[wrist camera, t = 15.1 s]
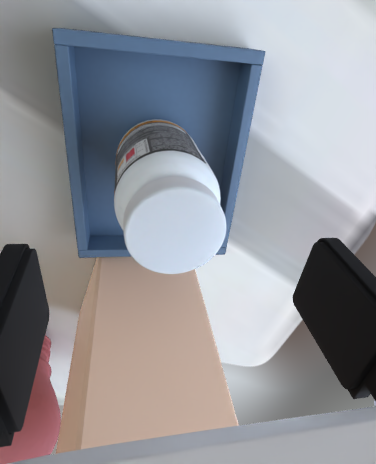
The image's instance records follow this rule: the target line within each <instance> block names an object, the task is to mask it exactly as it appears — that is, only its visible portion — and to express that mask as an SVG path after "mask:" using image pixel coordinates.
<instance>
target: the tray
mask: <svg viewBox="0 0 376 464" xmlns="http://www.w3.org/2000/svg"><path fill="white" fill-rule="evenodd" d="M52 31H53V40H54V44H56V45H54V48H55V56H56V65H57V74H58V82H59V91H60V100H61V109H62V117H63V126H64V135H65V143H66V152H67V161H68V169H69V178H70V187H71V195H72V204H73V213H74V221H75V230H76V239H77V248H78V256H79V258H89V257H132V256H131V255H130V253H129V251H128V249H127V247H126V244H125V240H124V231H123V229H122V228H121V226H120V224H119V222H118V220H117V217H116V213H115V207H114V189H115V161H116V153H117V149H118V146H119V143H120V141H121V139H122V138H123V136H124V135H125V134H126V133H127V132H128V131H129V130H130V129H131V128H132V127H134V126H135V125H137V124H139V123H141V122H144V121H147V120H154V119H161V120H166V121H170V122H172V123H175V124H177V125H178V126H180V127H181V128H183V129H184V130H185V131H186V132H187V133H188V134H189V135H190V137H191V138H192V139H193V141H194V142H195V144H196V145H197V147H198V149H199V151H200V152H201V154H202V155H203V157H204V158H205V160H206V161H207V163H208V165H209V167H210V168H211V169H212V171H213V173H214V175H215V177H216V179H217V181H218V184H219V188H220V197H221V199H220V206H221V208H222V210H223V212H224V215H225V218H226V235H225V238H224V241H223V243H222V246H221V247H220V249H219V250H218V252H217V253H216V254H215V255H222V254H225V252H226V247H227V242H228V237H229V232H230V227H231V222H232V217H233V212H234V207H235V202H236V197H237V192H238V186H239V181H240V176H241V171H242V166H243V161H244V156H245V151H246V146H247V141H248V136H249V131H250V126H251V121H252V115H253V110H254V105H255V100H256V95H257V90H258V85H259V80H260V75H261V70H262V65H263V61H264V56H265V51H261V50H255V49H248V48H239V47H230V46H221V45H212V44H202V43H193V42H184V41H175V40H166V39H156V38H147V37H138V36H129V35H120V34H111V33H101V32H92V31H83V30H74V29H65V28H53V29H52Z"/></svg>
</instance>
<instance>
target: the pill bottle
mask: <svg viewBox="0 0 376 464" xmlns="http://www.w3.org/2000/svg"><path fill="white" fill-rule="evenodd" d="M220 199H221V197H220V188H219V184H218V181H217V179H216V177H215V175H214V173H213V171H212V169H211V168H210V167H209V165H208V163H207V161H206V160H205V158H204V157H203V155H202V154H201V152H200V151H199V149H198V147H197V145H196V144H195V142H194V141H193V139H192V138H191V137H190V135H189V134H188V133H187V132H186V131H185V130H184V129H183V128H181V127H180V126H178V125H177V124H175V123H172V122H170V121H166V120H161V119H154V120H147V121H144V122H141V123H139V124H137V125H135V126H134V127H132V128H131V129H130V130H129V131H128V132H127V133H126V134H125V135H124V136H123V138H122V139H121V141H120V143H119V146H118V149H117V153H116V161H115V189H114V207H115V213H116V217H117V220H118V222H119V224H120V226H121V228H122V229H123V231H124V240H125V244H126V247H127V249H128V251H129V253H130V255H131V256H132V257H133V258H134V260H135V261H137V262H138V263H139V264H140V265H141V266H143V267H145V268H147V269H149V270H151V271H154V272H158V273H164V274H179V273H184V272H188V271H191V270H194V269H196V268H198V267H200V266H202V265H204V264H205V263H207V262H208V261H209V260H210V259H211V258H212V257H213V256H214V255H215V254H216V253H217V252H218V250H219V249H220V247H221V246H222V243H223V241H224V238H225V235H226V218H225V215H224V212H223V210H222V208H221V206H220Z"/></svg>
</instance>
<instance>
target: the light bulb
mask: <svg viewBox="0 0 376 464" xmlns="http://www.w3.org/2000/svg"><path fill="white" fill-rule="evenodd" d="M50 347H51V341H50V339H49V338H48V337H47V336H45V338H44V342H43V346H42V350H41V354H40V358H39V362H38V367H37V371H36V375H35V379H34V383H33V387H32V391H31V396H30V400H29V404H28V408H27V412H26V416H25V420H24V424H23V427H22V430H21V431H20V432H15V433H14V437H13V441H12V445H11V446H5V447H0V464H8V463H13V462H17V461H22V460H27V459H31V458H36V457H40V456H45V455H50V454H51V453H52V451H53V449H54V446H55V444H56V442H57V439H58V435H59V431H60V424H61V419H60V418H61V417H60V409H59V405H58V402H57V398H56V395H55V392H54V389H53V387H52V385H51V382H50V376H51V367H50V365H49V364H48V362H49V357H50Z"/></svg>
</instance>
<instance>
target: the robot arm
mask: <svg viewBox="0 0 376 464" xmlns="http://www.w3.org/2000/svg"><path fill="white" fill-rule="evenodd" d="M293 303H294V305H295V307H296V309H297V310H298V312H299V314H300V315H301V317H302V319H303V320H304V322H305V324H306V325H307V327H308V329H309V331H310V332H311V334H312V336H313V337H314V339H315V340H316V342H317V344H318V346H319V347H320V349H321V351H322V353H323V354H324V356H325V358H326V359H327V361H328V363H329V364H330V366H331V368H332V369H333V371H334V373H335V375H336V376H337V378H338V380H339V381H340V383H341V385H342V386H343V387H344V388H345V389H348V391H349V392H350V394H351V396H352V397H353V399H357V398H365V397H368V396H369V395H370V394H371V395H372V396H373V398H374V399H375V402H374V407H367V408H360V409H352V410H346V411H338V412H331V413H324V414H316V415H309V416H302V417H296V418H288V419H281V420H274V421H267V422H260V423H253V424H246V425H239V426H232V427H225V428H218V429H212V430H205V431H198V432H191V433H185V434H178V435H171V436H164V437H158V438H151V439H144V440H138V441H131V442H124V443H117V444H111V445H105V446H99V447H93V448H87V449H81V450H75V451H69V452H63V453H57V454H51V455H45V456H40V457H36V458H31V459H27V460H22V461H17V462H13V463H8V464H376V277H375V276H374V275H373V274H372V273H371V272H370V271H369V270H368V269H367V268H366V267H365V266H364V265H363V264H362V263H361V262H360V260H359V259H358V258H357V257H356V256H355V255H354V254H353V253H352V252H351V251H350V250H349V249H348V248H347V247H346V246H345V245H344V244H343V243H342V242H341V241H340V240H339V239H338V238H321V239H319V240H318V241H317V242H316V243H315V244H314V245H313V247H312V250H311V252H310V255H309V257H308V259H307V262H306V264H305V267H304V269H303V272H302V274H301V277H300V279H299V282H298V284H297V287H296V289H295V292H294V294H293ZM48 321H49V307H48V303H47V298H46V294H45V289H44V284H43V280H42V275H41V271H40V266H39V261H38V257H37V252H36V250H35V249H30V248H29V246H28V244H7V245H5V246H4V248H3V250H2V252H1V254H0V447H5V446H11V445H12V441H13V437H14V433H15V432H20V431H21V430H22V427H23V424H24V420H25V416H26V412H27V408H28V404H29V400H30V396H31V391H32V387H33V383H34V379H35V375H36V371H37V367H38V362H39V358H40V354H41V350H42V346H43V342H44V338H45V333H46V329H47V325H48Z"/></svg>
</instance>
